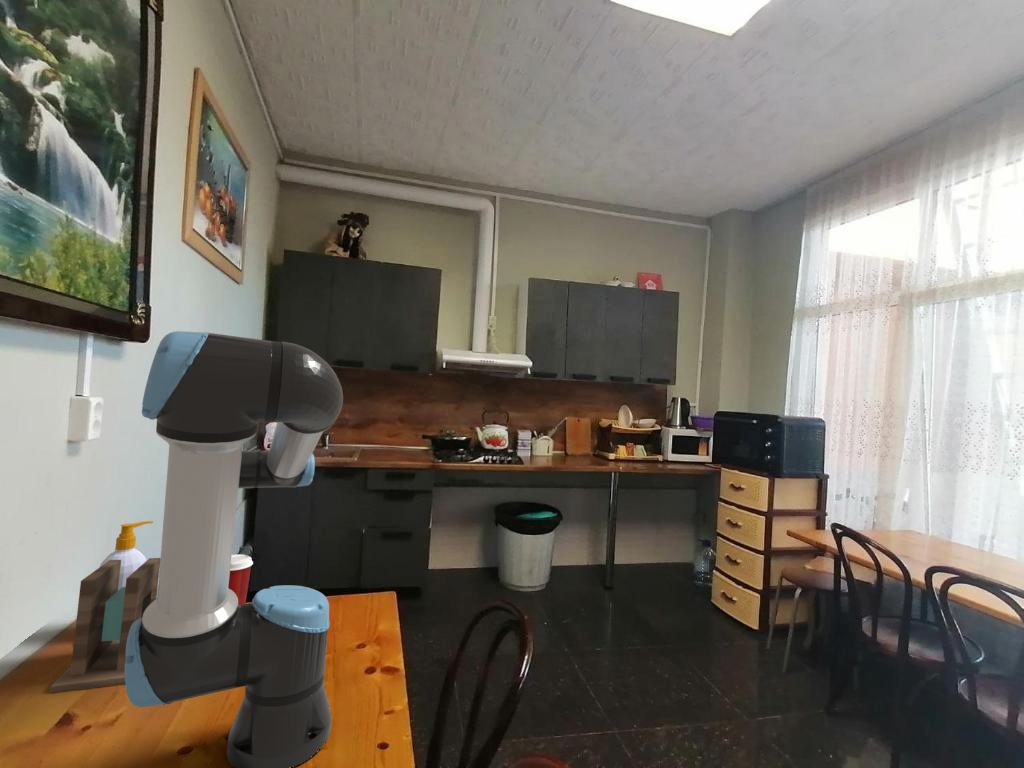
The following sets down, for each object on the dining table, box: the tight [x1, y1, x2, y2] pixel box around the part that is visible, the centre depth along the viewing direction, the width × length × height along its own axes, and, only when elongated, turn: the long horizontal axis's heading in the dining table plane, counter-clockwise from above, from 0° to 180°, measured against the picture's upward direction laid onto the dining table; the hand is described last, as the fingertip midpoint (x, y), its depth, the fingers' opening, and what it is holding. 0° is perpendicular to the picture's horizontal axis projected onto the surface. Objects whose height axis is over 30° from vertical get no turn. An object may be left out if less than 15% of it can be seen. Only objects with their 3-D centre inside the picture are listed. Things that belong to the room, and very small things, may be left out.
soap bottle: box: [98, 520, 154, 590], centre depth 106 cm, size 9×9×24 cm
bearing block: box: [49, 557, 161, 694], centre depth 95 cm, size 18×17×18 cm
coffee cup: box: [228, 554, 254, 605], centre depth 113 cm, size 8×8×15 cm
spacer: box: [102, 587, 126, 641], centre depth 94 cm, size 8×4×8 cm, turn 21°
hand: (199, 619), depth 99 cm, fingers closed on shaft, 3 cm apart
